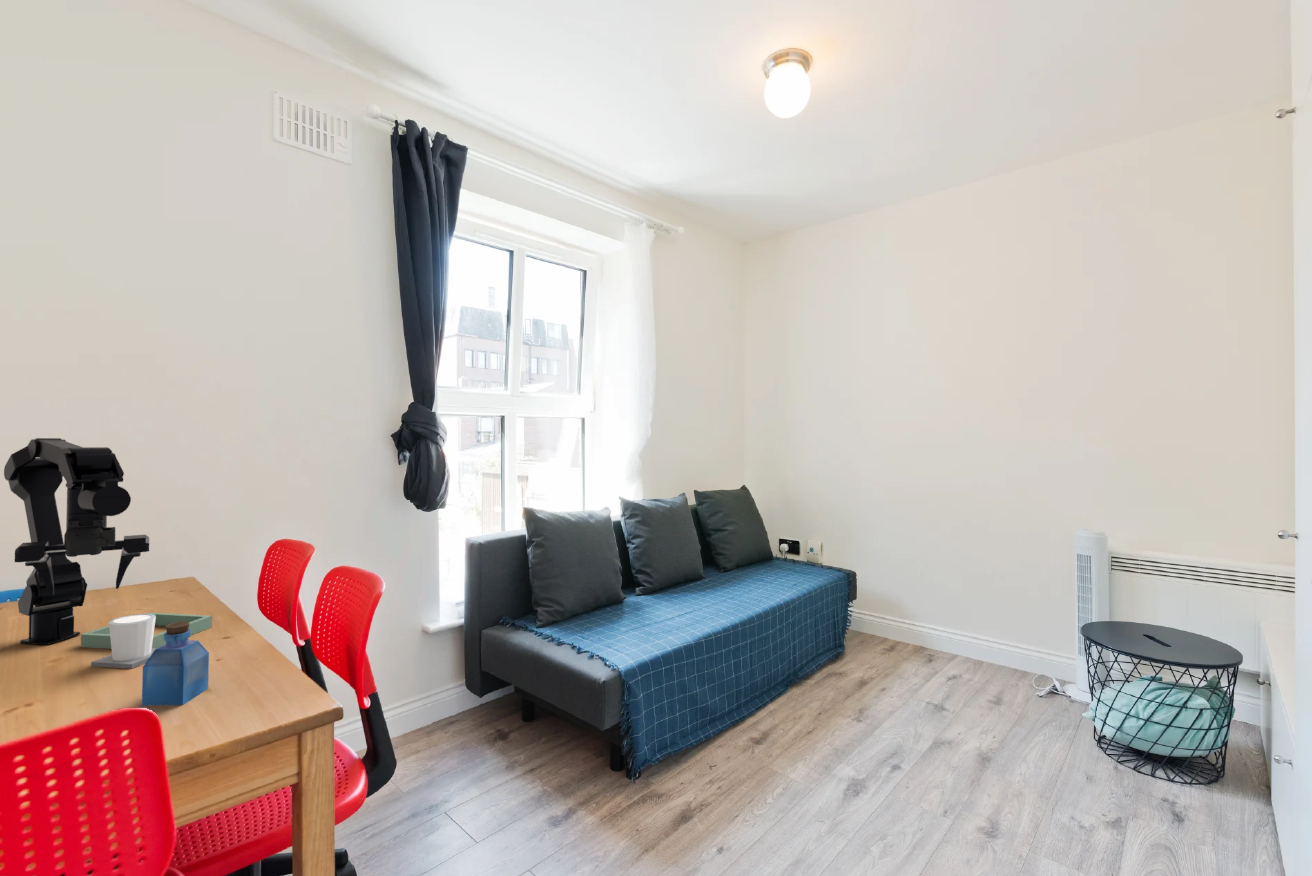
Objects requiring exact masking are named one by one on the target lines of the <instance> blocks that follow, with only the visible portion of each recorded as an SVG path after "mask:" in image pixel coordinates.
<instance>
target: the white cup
mask: <svg viewBox="0 0 1312 876" xmlns="http://www.w3.org/2000/svg"><path fill="white" fill-rule="evenodd" d="M155 620H156V616H155V615H153V614H146V613H136V614H129V615H124V616H120V617H116V618H113V619H111V620H109V621H108V626H109V629H110V639H111V654H112V658H113V660H118V661H123V660H132V659H137V658H141V657H144V656H146V655H149V654H150V653H151V650H152V642H153V635H155V634H154V633H155V627H156V626H155Z"/></svg>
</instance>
